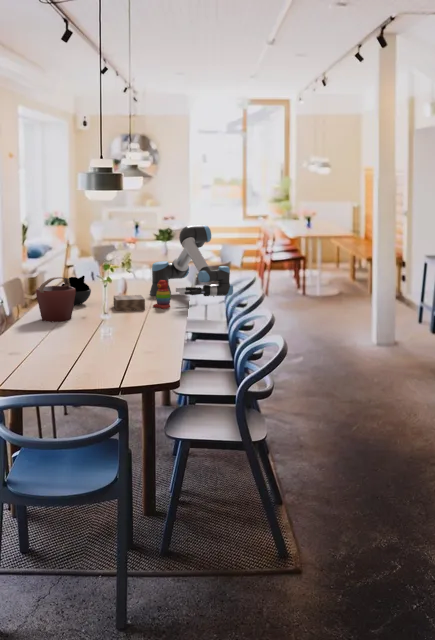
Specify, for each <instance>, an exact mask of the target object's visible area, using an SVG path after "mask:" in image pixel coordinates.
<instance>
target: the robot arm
mask: <svg viewBox="0 0 435 640" xmlns="http://www.w3.org/2000/svg"><path fill="white" fill-rule="evenodd" d="M178 238H179V239H178V240H179V243H180V245H181V247H182V248H183V249H182V251H181V252H180V254H179V256H178V257H176V258H174V259H173V261H172V262H169V261H167V260H162V261H156V262H154V263H153V264H152V266H151V274H152V275H151V278H152V279H151V281H152V284H151V287H150V290H149V296H155V297H156V294H157V291H158V289H159V288H158V286H157V284H158V282H159V280H167V282H168V287H167V289H168V290H169V292H170V296H171V295H172V291H171V287H170V283H169V280H178V279H185V278H186V277H187V276H188V275H189V271H190V266H189V264H190V262H192V263H193V264H194V266H195V269H197V271H198V273H197V278H198V282H200V283H213V282H218V283H217V284H203V286H202V287H198V286H197V287H193V286H191V287H190V286H185V287H175V292H176V293H179V296H187V295H188V296H189V295H190V296H198V295H203V297H213V298H215V297H229V296H233V293H234V285H233V284H231V283H230V278H231V277H230V276H231V275H230V274H231V271H230V270H231V269H230V266H228V265H221V266H218V268H217V269H211V267H210V266H209V265H208V262H207V261H206V259H205V258H204V255H203V254H202V253H201V251H200V248H202V247H203V246H204V244H206V243H209V242H211V240H212V231H211V228H210V227H209V226H208V225H204V224H201V225H187V226H184V227H183V228H182V229H181V231H180V232H179V237H178Z"/></svg>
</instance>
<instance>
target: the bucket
mask: <svg viewBox="0 0 435 640" xmlns="http://www.w3.org/2000/svg"><path fill="white" fill-rule="evenodd" d="M57 279H62V280H63V284H64V286H61V285H49V284H50V283H51V282H53V281H54V280H57ZM68 281H69V278H67V277H61V276H60V277H59V276H57V277H56V276H55V277H51V278H48V279H47V280H45V281H44V282H43V283H42V284H41V285H40V286H39V287H37V288H36V289H35V295H36V299H37V303H38V308H39V312H40V317H41V321H42V322H48V323H58V322H59V323H61V322H67V321H70V320H72V318H73V317H72V316H73V310H74V306H75V305H74V300H75V294H76V291H75V288H73V287H70V283H69V282H68ZM47 285H48V286H47Z"/></svg>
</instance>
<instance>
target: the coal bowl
mask: <svg viewBox="0 0 435 640" xmlns="http://www.w3.org/2000/svg"><path fill="white" fill-rule="evenodd" d="M85 278H86V277H85V275H82V276H80V277H75V276H70V277H69V278H68V279H69V281H68V282H69V283H70V287H73V288H75V291H76V294H75V300H74V305H73V306H75V305H76V306H79V305H81V304H84V303H85V302H87V301H88V299H89V298H90V297H91V293H92V288H91V287H90V286H89V285H88V284H87V283H86V282H85ZM60 286H64V283H62V284H61V285H60Z"/></svg>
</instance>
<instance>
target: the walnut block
mask: <svg viewBox="0 0 435 640" xmlns="http://www.w3.org/2000/svg"><path fill="white" fill-rule="evenodd" d="M113 308H114V309H115V311H116V312H124V311H125V312H126V311H128V312H129V311H132V312H133V311H146V299H145V298H144V297H143V295H141V294H129V295H128V294H127V295H123V294H122V295H113Z"/></svg>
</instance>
